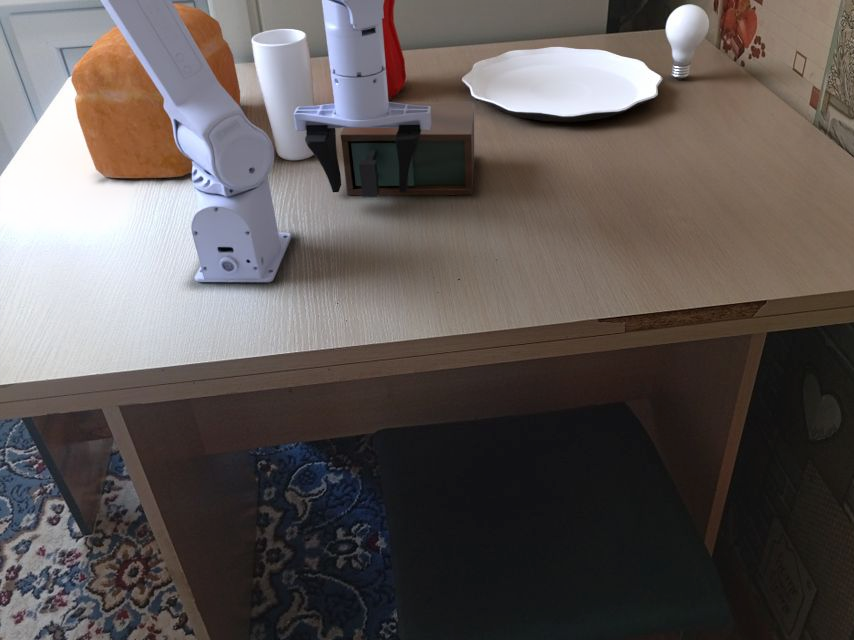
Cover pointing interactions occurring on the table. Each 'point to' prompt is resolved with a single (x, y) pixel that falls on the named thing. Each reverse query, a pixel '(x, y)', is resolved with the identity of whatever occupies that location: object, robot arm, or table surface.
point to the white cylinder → (285, 86)
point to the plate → (562, 83)
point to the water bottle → (392, 52)
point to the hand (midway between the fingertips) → (370, 188)
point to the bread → (140, 102)
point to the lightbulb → (685, 36)
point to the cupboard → (427, 152)
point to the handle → (377, 166)
